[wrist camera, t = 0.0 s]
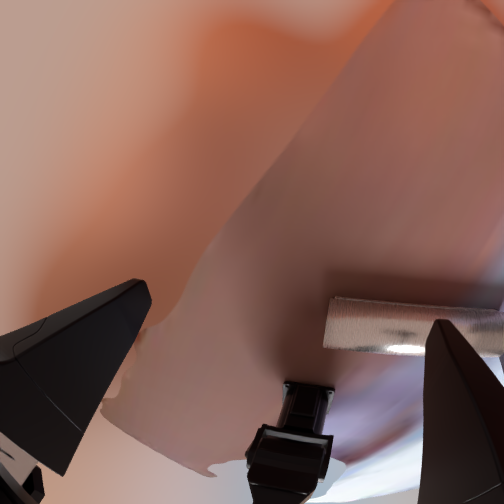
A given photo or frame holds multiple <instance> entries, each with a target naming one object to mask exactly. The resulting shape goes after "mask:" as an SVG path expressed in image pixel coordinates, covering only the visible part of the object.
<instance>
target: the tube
mask: <svg viewBox="0 0 504 504" xmlns="http://www.w3.org/2000/svg"><path fill="white" fill-rule="evenodd" d="M436 319H448V320H450V321H451V322H452V323H453V324H454V326H455V327H456V328H457V329H458V330H459V331H460V332H461V334H462V335H463V336H464V337H465V338H466V340H467V341H468V342H469V343H470V344H471V346H472V347H473V348H474V349H475V350H476V352H477V353H478V354H479V355H480V357H500V356H501V355H502V354H503V353H504V312H497V309H481V308H464V307H449V306H435V305H423V304H411V303H399V302H388V301H377V300H367V299H357V298H348V297H339V296H335V298H330V302H329V308H328V314H327V321H326V328H325V334H324V341H323V348H330V349H339V350H347V351H357V352H367V353H378V354H391V355H405V356H424V357H425V343H426V339H427V337H428V335H429V332H430V330H431V328H432V325H433V323H434V321H435V320H436Z"/></svg>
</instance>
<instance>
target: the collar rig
mask: <svg viewBox="0 0 504 504" xmlns="http://www.w3.org/2000/svg"><path fill="white" fill-rule="evenodd" d="M499 358H500V362H501V365H502V369H503V372H504V353H503V354H502V355H501V356H500V357H499Z"/></svg>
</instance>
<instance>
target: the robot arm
mask: <svg viewBox="0 0 504 504" xmlns="http://www.w3.org/2000/svg"><path fill="white" fill-rule="evenodd" d="M151 304H152V299H151V296H150V293H149V290H148V287H147V284H146V282H145V281H144V280H141V279H136V278H134V279H131V280H129V281H127V282H124V283H122V284H119V285H117V286H115V287H112V288H110V289H108V290H106V291H103V292H101V293H99V294H97V295H94V296H92V297H90V298H88V299H85V300H83V301H81V302H79V303H77V304H74V305H72V306H70V307H68V308H65V309H63V310H61V311H59V312H56V313H54V314H52V315H50V316H48V317H46V318H43V319H41V320H39V321H37V322H34V323H32V324H30V325H28V326H25V327H23V328H20V329H18V330H15V331H13V332H10V333H7V334H5V335H2V336H0V504H40V502H41V500H42V499H43V497H44V496H45V493H44V487H43V480H42V472H41V469H40V468H39V467H38V466H37V465H36V464H37V463H38V461H39V462H40V463H42V464H43V465H45V466H46V467H48V468H49V469H51V470H52V471H54V472H55V473H57V474H59V475H60V476H62V477H63V476H64V475H65V473H66V471H67V468H68V466H69V464H70V462H71V460H72V458H73V456H74V454H75V452H76V449H77V447H78V445H79V443H80V441H81V439H82V437H83V435H84V433H85V431H86V429H87V427H88V425H89V423H90V421H91V419H92V417H93V415H94V413H95V412H96V409H97V408H98V406H99V404H100V402H101V400H102V398H103V397H104V395H105V393H106V391H107V389H108V387H109V385H110V384H111V382H112V380H113V378H114V376H115V374H116V373H117V371H118V369H119V367H120V365H121V364H122V362H123V360H124V359H125V357H126V355H127V353H128V352H129V350H130V348H131V346H132V345H133V343H134V341H135V339H136V337H137V335H138V333H139V330H140V328H141V326H142V324H143V322H144V320H145V317H146V315H147V313H148V311H149V309H150V307H151ZM334 392H335V390H334V389H333V388H327V387H319V386H312V385H306V384H299V383H293V382H287V381H286V382H284V383H283V407H282V410H281V413H280V416H279V419H278V422H277V425H276V427H274V426H269V425H267V424H263V425H262V427H261V428H258V431H257V433H256V436H255V438H254V440H253V442H252V443H251V445H250V446H249V448H248V449H247V451H246V452H245V457H246V458H247V468H248V469H249V471H248V474H247V478H248V482H249V486H250V490H251V494H252V498H253V504H304V503H305V502H306V501H307V500H309V499H310V498H311V496H312V494H313V492H314V490H315V489H316V486H317V483H318V482H323V481H324V478H325V476H326V472H327V469H328V465H329V460H330V455H331V449H332V443H333V437H334V435H322V431H323V427H324V422H325V417H326V414H328V413H329V410H330V406H331V403H332V400H333V396H334ZM423 416H424V422H423V454H422V468H421V479H420V488H419V496H418V503H417V504H504V387H503V385H502V384H501V383H500V381H499V380H498V379H497V377H496V376H495V375H494V373H493V372H492V371H491V369H490V368H489V367H488V366H487V364H486V363H485V362H484V360H483V359H482V358H481V357H480V355H479V354H478V353H477V352H476V350H475V349H474V348H473V347H472V346H471V344H470V343H469V342H468V341H467V340H466V338H465V337H464V336H463V335H462V334H461V332H460V331H459V330H458V329H457V328H456V327H455V326H454V324H453V323H452V322H451V321H450V320H448V319H436V320H435V321H434V323H433V325H432V328H431V330H430V332H429V335H428V337H427V339H426V343H425V369H424V388H423Z"/></svg>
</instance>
